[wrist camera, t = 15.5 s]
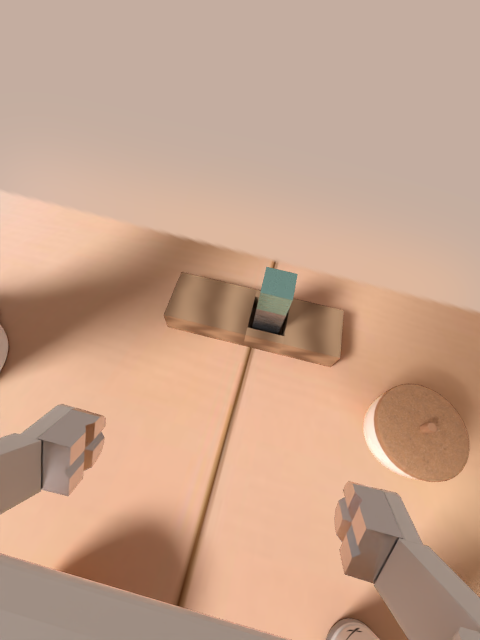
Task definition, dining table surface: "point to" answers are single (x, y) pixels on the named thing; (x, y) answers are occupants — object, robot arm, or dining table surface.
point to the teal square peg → (274, 300)
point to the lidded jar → (417, 434)
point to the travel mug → (351, 631)
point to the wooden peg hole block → (238, 315)
